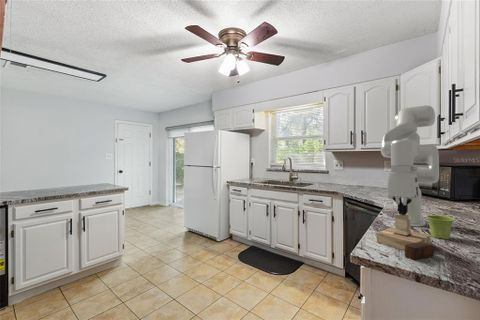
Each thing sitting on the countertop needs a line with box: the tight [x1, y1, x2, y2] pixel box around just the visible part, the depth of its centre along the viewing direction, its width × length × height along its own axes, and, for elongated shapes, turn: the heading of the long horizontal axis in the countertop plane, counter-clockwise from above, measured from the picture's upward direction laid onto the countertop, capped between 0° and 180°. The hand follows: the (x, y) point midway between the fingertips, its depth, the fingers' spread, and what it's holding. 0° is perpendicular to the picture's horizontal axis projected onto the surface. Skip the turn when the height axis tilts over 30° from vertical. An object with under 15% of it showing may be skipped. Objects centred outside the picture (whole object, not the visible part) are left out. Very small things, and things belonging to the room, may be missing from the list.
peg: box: [394, 212, 412, 237], centre depth 93 cm, size 4×4×12 cm
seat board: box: [376, 226, 432, 251], centre depth 93 cm, size 14×14×4 cm
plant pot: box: [426, 214, 455, 240], centre depth 101 cm, size 9×9×9 cm
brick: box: [404, 241, 436, 262], centre depth 81 cm, size 11×4×5 cm, turn 111°
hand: (402, 214), depth 93 cm, fingers closed
